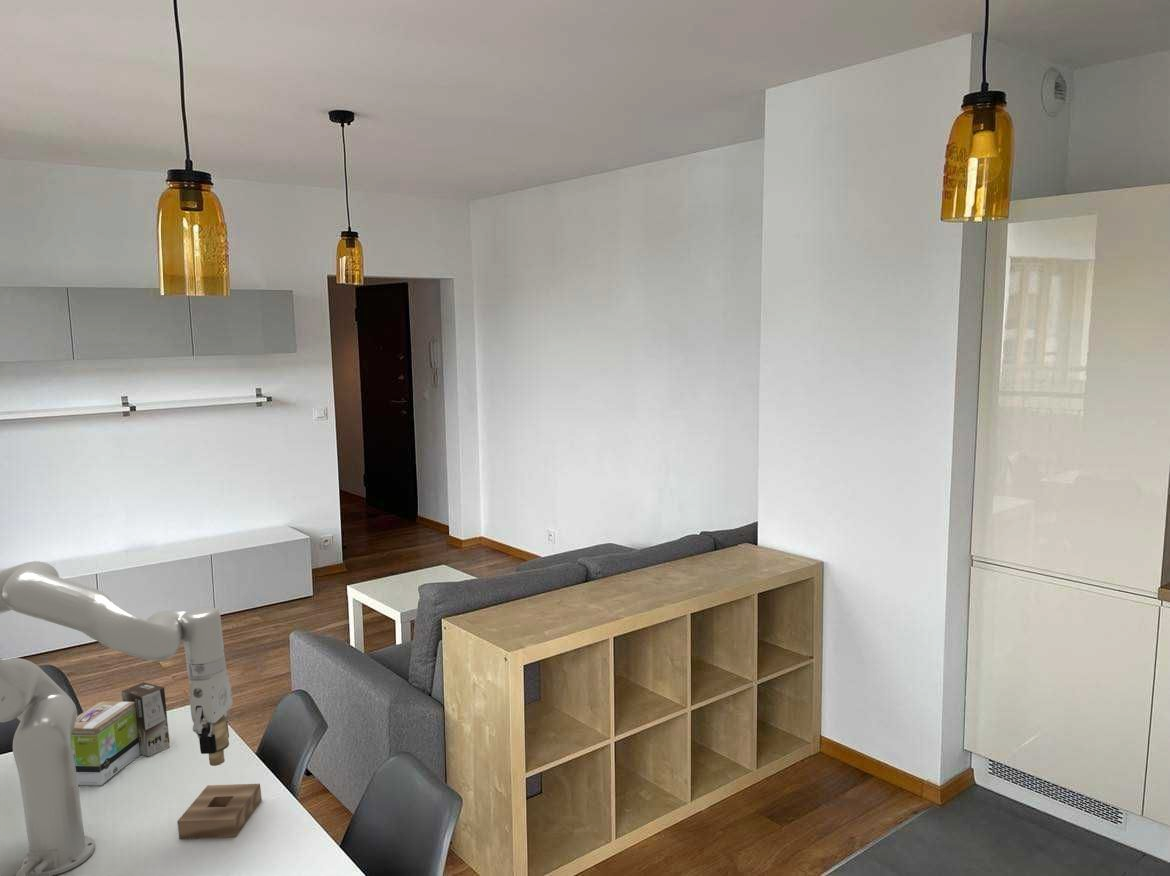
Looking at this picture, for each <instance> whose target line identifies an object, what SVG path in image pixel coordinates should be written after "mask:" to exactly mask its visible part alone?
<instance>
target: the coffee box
mask: <svg viewBox="0 0 1170 876" xmlns="http://www.w3.org/2000/svg"><path fill="white" fill-rule="evenodd" d="M121 698H122V702H135V707H136V719H137V729H138V740H139V749H140V755H142V756H145V757H150V756H153V755H155V754H158V753H159V752H161V751H164V750H166V749H168V748H170V746H171V745H170V733H169V732H170V731H169V724H168V713H167V703H166V692H165V687H163V686H160V685H156V684H152V683H148V682H144V681H143V682H140V683H138V684H135V685H132V686H131V687H129V688H125V689H124V690H123V689H122V690H121Z"/></svg>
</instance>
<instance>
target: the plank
mask: <svg viewBox="0 0 1170 876" xmlns="http://www.w3.org/2000/svg"><path fill="white" fill-rule="evenodd" d="M262 800H263V799H262V790H261V783H242V784H241V783H239V784H238V783H237V784H211V785H210V784H209V785H206V786H205V787H204V789H203V790H202V791H201V793H200V794H199V795H198V796H197V797H196V798H195V799H194V801H193V802H192V803H191V805H190V806H188V807H187V809H186V810H185V811H184V812H183V814H182V815H181V816H180V818H178V820H176V821H177V830H178V839H179V840H185V839H187V840H189V839H191V840H192V839H213V838H236V837H237V836H238V834H240V831H241V830H242V829H243V827H244V826H245V825H246V823H247V822H248V820H249V819H250V817H251V816H252V814H253V813H254V812H255V811H256V809H257V808H258V806H259V804H260V803H261V802H262Z"/></svg>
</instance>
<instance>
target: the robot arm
mask: <svg viewBox="0 0 1170 876" xmlns="http://www.w3.org/2000/svg"><path fill="white" fill-rule="evenodd" d="M10 611H13V612H15V613H18V614H23V615H25V616H28V617H32V618H36V619H39V620H42V621H45V622H50V623H52V624H57V625H59V626H62V627H66V628H69V629H72V630H75V631H77V632H80V633H83V634H85V635H86V636H87V637H89V638H91V639H92V640H94V641H96V642H97V643H100V644H102V645H104V646H105V647H107V648H109V649H111V650H114V651H115V652H116V651H117V652H119V653H122V654H125V655H129V656H132V657H135V658H139V659H141V660H142V659H143V660H147V661H151V662H152V661H153V662H160V661H165V660H168V659H170V658H171V657H172V656H174V655H176V653H177V651H178V650H179V648H180V647H181V644H183V645H184V653H185V662H186V671H187V677H188V678H189V706H190V715H191V716H190V717H191V721H192V722H193V726H192V731H193V733H195V734H196V735H197V738H198V739H199V740H198V741H199V742H198V743H199V748H200V754H203V755H204V754H205V755H209V754H212V753H215V752H216V751H217V749H216V740H215V734H214V735H213V723H216V722H217V721H218V720H219V719H220V718H221V717H222V716H225V717H226V721H227V730H228V739H229V737H230V734H229V733H230V732H229V724H228V723H229V722H228V719H229V716H228V715H229V714H228V711H229V710H230V709H231V707H232V706H233V704H234V701H233V694H232V687H231V681H230V676H229V672H228V669H227V665H226V656H225V655H226V654H225V646H224V638H223V635H224V634H223V627H222V619H221V618H222V617H221V612H220V611H219V609H217V608H216V607H213V606H212V607H211V606H203V607H197V608H193V609H190V610H164V611H158V612H155V613H153V614H152V615H150V616H149V617H148V618H147V619H144V618H141V617H137V616H135V615H133V614H130V613H128V612H127V611H125V610H123V609H121V608H120V607H119V606H118V605H116V604H115V603H114V602H113V600H112V599H111V598H110V596H108V594H107V593H105V592H103V591H102V590H99V589H97V588H93V587H91V586H87V585H83V584H80V583H77V582H74V581H72V580H68V579H65V578H61V577H60V574H59V572H58V571H57V569H56V568H55V566H53V565H51V564H50V563H48V562H44V561H27V562H24V563H22V564H21V563H20V564H18V565H14V566H12V567H8V568H6V569H3V570H0V615H1V614H3V613H6V612H10ZM77 716H78V710H77V706H76V704H75V701H73V699H72V698H71V697H70V696H69V694H68V693H67V692H66V691H64V690H63V689H62V688H61V687H60V686H59V685H58V684H57V683H56V682H55V681H54V680H53V679H52V678H51V677H50V676H49V675H48V674H47V673H45V671H44V670H43V669H42V668H41V667H39V665H37V664H35V663H34V662H32V661H31V660H28V659H24V658H20V657H19V658H17V657H12V658H8V659H7V658H6V659H2V658H1V657H0V723H6V722H11V721H12V720H14V719H17V720H18V721H19V724H18V726H17V728H16V730H15V733H14V735H13V740H12V754H13V758H14V762H15V766H16V769H17V773H18V778H19V783H20V784H19V785H20V791H21V792H20V793H21V797H22V804H23V813H24V819H25V820H24V821H25V826H26V834H27V841H28V849H29V851H28V852H27V855H26V857H25V858H24V859H23V861H22V863H21V864H22V865H21V868H19V870H18V871H17V872H16V874H15V875H16V876H56V875H58V874H59V875H60V874H63V873H65V872H67V871H70V870H72V869H74V868H75V867H78V866H80V865H81V864H82V863H84V862H85V861H86V860H88V859H89V857H91V856H92V854H93V853H94V851H95V848H96V847H95V841H94V839H93V838H92V837H90V836H88V835H85V829H84V822H83V813H82V805H81V797H80V790H79V789H80V787H79V785H78V780H77V774H76V767H75V761H74V756H73V752H72V747H71V734H72V731H73V728H74V725H75V722H76V719H77ZM203 719H206V720H207V721H203ZM207 724H208V729H206V728H203V725H207Z"/></svg>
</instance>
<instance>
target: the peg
mask: <svg viewBox="0 0 1170 876" xmlns="http://www.w3.org/2000/svg"><path fill="white" fill-rule="evenodd" d="M203 721H207V720H206V719H203ZM227 722H228V720H226V717H225V716H222V717H221V718H220V719H219V720H218V721H217V722H216V723H213V735H214V734H215V740H216V749H217V751H216V752H215V753H212V754H208V760H209V765H210V766H214V767H216V766H220V765H222V764H223V763H225V760H226V759H225V753H224V752H225V749H227V748H228V747H229V746H230V741H229V738H228V732H229V729H228V730H227ZM203 728H206V729H208V724H207V725H203Z"/></svg>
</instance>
